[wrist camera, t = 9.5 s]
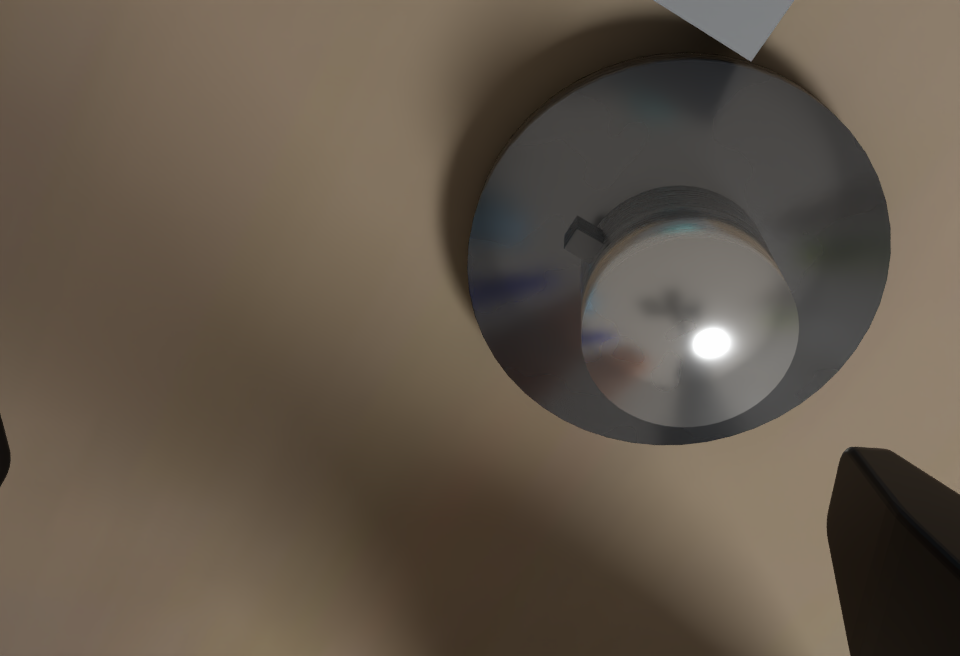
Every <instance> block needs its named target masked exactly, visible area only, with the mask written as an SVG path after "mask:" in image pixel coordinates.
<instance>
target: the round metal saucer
mask: <svg viewBox="0 0 960 656" xmlns="http://www.w3.org/2000/svg"><path fill="white" fill-rule="evenodd" d="M890 254H891V250H890V223H889V216H888V210H887V204H886V200H885V197H884V194H883V191H882V188H881V184H880V181H879V178H878V176H877V174H876V172H875V170H874V168H873V166H872V164H871V162H870V160H869V158H868V156H867V154H866V152H865V151H864V150H863V148H862V147H861V146H860V144H859V143H858V141H857V140H856V139H855V137H854V136H853V135H852V133H851V132H850V130H849V129H848V128H847V127H846V126H845V125H844V124H843V123H842V122H841V121H840V120H839V119H838V118H837V117H836V116H835V115H834V114H833V113H832V112H831V111H830V110H829V109H827V108H826V107H825V106H824V105H823V104H822V103H821V102H820V101H819V100H818V99H816V98H815V97H814V96H812V95H811V94H810V93H808V92H807V91H806V90H804V89H803V88H802V87H800V86H799V85H797V84H796V83H794V82H793V81H791V80H789V79H787V78H785V77H783V76H781V75H779V74H778V73H776V72H774V71H772V70H770V69H767V68H764V67H761V66H758V65H756V64H753V63H750V62H747V61H745V60H740V59H735V58H731V57H726V56H721V55H716V54H702V53H688V52H686V53H670V54H656V55H651V56H646V57H641V58H636V59H631V60H627V61H624V62H621V63H618V64H615V65H612V66H609V67H606V68H603V69H601V70H598V71H596V72H594V73H592V74H590V75H588V76H586V77H584V78H582V79H580V80H578V81H576V82H574V83H573V84H571V85H570V86H568V87H566V88H565V89H563V90H562V91H560V92H559V93H557V94H556V95H554V96H553V97H551V98H550V99H549V100H548V101H547V102H545V103H544V104H543V105H542V106H541V107H540V108H538V109H537V110H536V111H535V112H534V113H533V114H531V115H530V116H529V118H528V119H527V120H526V121H525V122H524V123H523V124H522V125H521V126H520V128H519V129H518V130H517V131H516V132H515V133H514V134H513V135H512V137H511V138H510V140H509V141H508V143H507V144H506V146H505V147H504V148H503V150H502V151H501V153H500V154H499V156H498V157H497V159H496V161H495V163H494V165H493V167H492V169H491V171H490V173H489V175H488V177H487V179H486V182H485V184H484V187H483V190H482V193H481V196H480V199H479V202H478V205H477V209H476V212H475V215H474V219H473V224H472V229H471V234H470V239H469V246H468V266H467V270H468V281H469V292H470V296H471V301H472V305H473V309H474V313H475V317H476V319H477V322H478V324H479V327H480V330H481V332H482V335H483V337H484V339H485V341H486V343H487V344H488V346H489V348H490V350H491V352H492V353H493V355H494V357H495V359H496V360H497V361H498V363H499V364H500V365H501V367H502V368H503V369H504V371H505V372H506V373H507V375H508V376H509V377H510V378H511V379H512V380H513V381H514V382H515V383H516V384H517V385H518V386H519V387H520V388H521V389H522V390H523V391H524V392H525V393H526V394H527V395H528V396H529V397H531V398H532V399H533V400H534V401H536V402H537V403H538V404H539V405H541V406H542V407H543V408H545V409H546V410H548V411H550V412H551V413H553V414H554V415H556V416H558V417H559V418H561V419H563V420H564V421H567V422H569V423H571V424H573V425H575V426H577V427H580V428H582V429H584V430H587V431H590V432H593V433H596V434H599V435H602V436H605V437H608V438H612V439H617V440H622V441H627V442H631V443H641V444H651V445H683V444H692V443H701V442H708V441H712V440H717V439H721V438H725V437H730V436H733V435H736V434H739V433H742V432H745V431H748V430H751V429H754V428H756V427H758V426H761V425H763V424H765V423H767V422H769V421H771V420H773V419H776V418H778V417H780V416H781V415H783V414H784V413H786V412H788V411H789V410H791V409H793V408H794V407H796V406H798V405H799V404H801V403H802V402H803V401H805V400H806V399H807V398H809V397H810V396H811V395H813V394H814V393H815V392H816V391H818V390H819V389H820V388H821V387H822V386H823V385H824V384H826V383H827V382H828V381H829V380H830V379H831V378H832V377H833V376H834V375H835V374H836V373H837V372H838V371H839V370H840V369H841V367H842V366H843V365H844V364H845V362H846V361H847V360H848V359H849V357H850V356H851V355H852V354H853V352H854V351H855V350H856V348H857V347H858V345H859V343H860V342H861V340H862V339H863V337H864V335H865V334H866V332H867V330H868V329H869V327H870V325H871V322H872V320H873V318H874V316H875V314H876V311H877V309H878V307H879V305H880V301H881V298H882V294H883V291H884V288H885V284H886V281H887V275H888V268H889V261H890Z"/></svg>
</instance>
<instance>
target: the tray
mask: <svg viewBox="0 0 960 656" xmlns="http://www.w3.org/2000/svg"><path fill="white" fill-rule="evenodd" d="M654 1H655V2H657V3H659V4H660V5H662V6H663V7H665V8H667V9H668V10H670V11H671V12H673V13H675V14H676V15H678V16H679V17H681V18H682V19H684V20H686V21H687V22H689V23H690V24H692V25H694V26H695V27H697V28H698V29H700V30H701V31H703V32H705V33H706V34H708V35H709V36H711V37H713V38H714V39H716V40H717V41H719V42H721V43H722V44H724V45H725V46H727V47H728V48H730V49H732V50H733V51H735V52H736V53H738V54H740V55H741V56H743V57H744V58H746V59H748V60H749V61H752V60H753V58H754V57H755V55H756V54H757V53H758V51H759V50H760V48H761V47H762V45H763V44H764V43H765V41H766V40H767V38H768V37H769V36H770V34H771V33H772V31H773V30H774V28H775V27H776V26H777V24H778V23H779V21H780V20H781V18H782V17H783V16H784V14H785V13H786V11H787V10H788V8H789V7H790V6H791V4H792V3H793V1H794V0H654Z"/></svg>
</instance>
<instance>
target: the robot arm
mask: <svg viewBox="0 0 960 656" xmlns="http://www.w3.org/2000/svg"><path fill="white" fill-rule="evenodd" d="M10 460H11V459H10V449H9V445H8V441H7V437H6V434H5V430H4V426H3V422H2V418H1V415H0V486H1V485H2V483H3V481H4V479H5V478H6V475H7V473H8V470H9V467H10ZM827 537H828V543H829V548H830V553H831V558H832V563H833V569H834V574H835V579H836V584H837V589H838V594H839V600H840V605H841V610H842V615H843V620H844V625H845V630H846V636H847V641H848V646H849V651H850V655H851V656H960V494H958V493H956V492H955V491H953V490H952V489H950V488H949V487H947V486H945V485H944V484H942V483H941V482H939V481H938V480H936V479H935V478H933V477H931V476H930V475H928V474H927V473H925V472H924V471H922V470H921V469H919V468H917V467H916V466H914V465H913V464H911V463H910V462H908V461H906V460H905V459H903V458H902V457H900V456H899V455H897V454H896V453H894V452H892V451H891V450H887V449H881V448H865V447H849V448H848V449H846V450H845V451H844V452H843V454H842V456H841V458H840V462H839V466H838V470H837V474H836V479H835V483H834V488H833V492H832V496H831V501H830V505H829V510H828V515H827Z"/></svg>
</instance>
